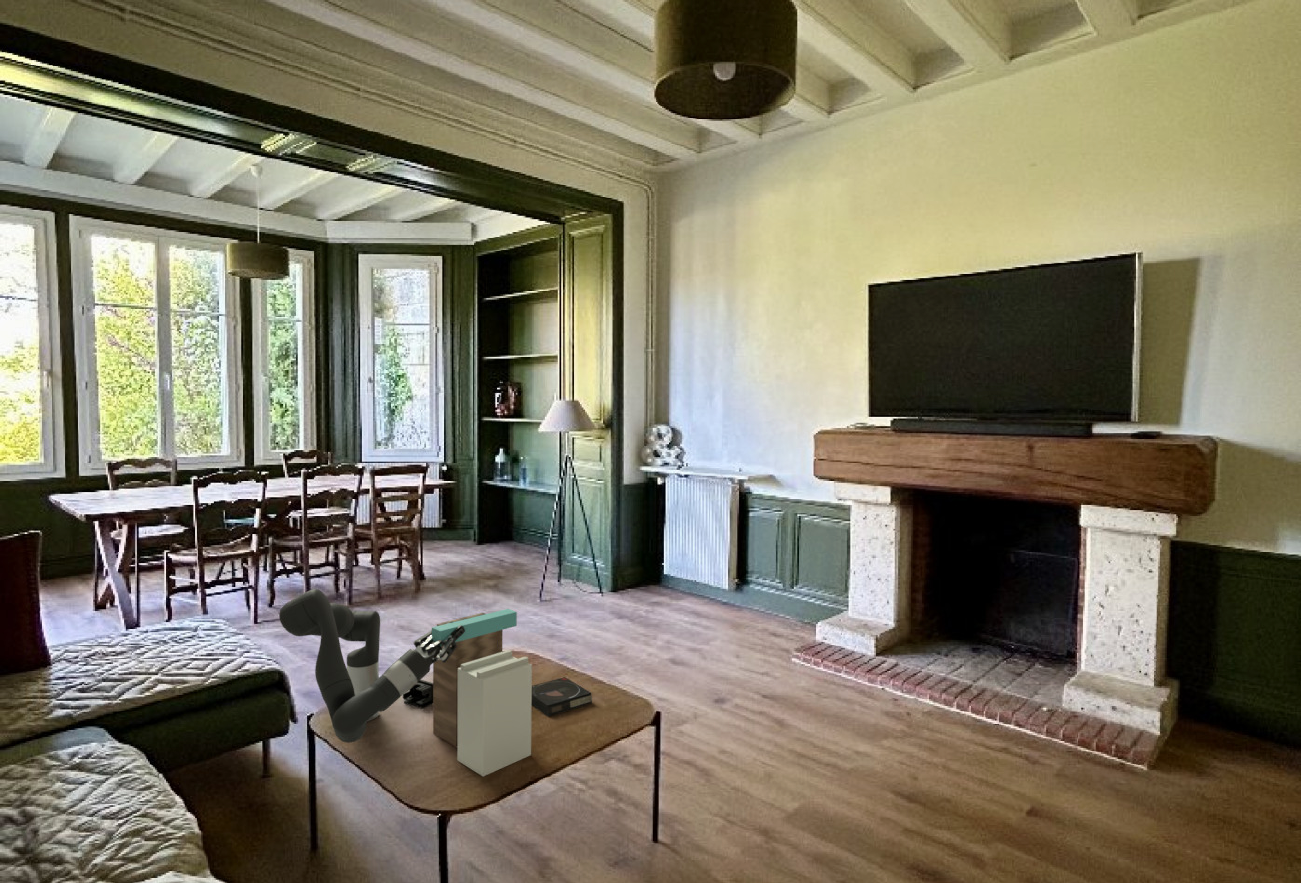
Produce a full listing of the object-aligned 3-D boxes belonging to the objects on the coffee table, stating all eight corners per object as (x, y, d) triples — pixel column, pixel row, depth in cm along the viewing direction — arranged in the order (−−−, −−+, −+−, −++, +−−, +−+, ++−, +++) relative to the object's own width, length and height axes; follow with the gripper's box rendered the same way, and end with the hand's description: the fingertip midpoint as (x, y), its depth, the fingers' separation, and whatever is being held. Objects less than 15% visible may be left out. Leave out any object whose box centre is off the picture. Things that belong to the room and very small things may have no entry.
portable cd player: (548, 718, 227) (548, 706, 227) (522, 700, 241) (522, 688, 240) (592, 705, 238) (592, 693, 237) (564, 688, 251) (564, 677, 251)
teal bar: (440, 646, 184) (440, 631, 184) (431, 642, 187) (431, 627, 186) (516, 625, 202) (516, 611, 201) (507, 622, 204) (508, 608, 204)
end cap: (440, 701, 237) (440, 681, 237) (424, 709, 231) (424, 688, 231) (418, 695, 242) (418, 675, 242) (401, 702, 236) (401, 682, 236)
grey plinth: (482, 776, 191) (483, 674, 190) (457, 760, 199) (457, 662, 198) (530, 755, 203) (531, 659, 201) (505, 740, 211) (505, 648, 209)
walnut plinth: (455, 746, 207) (456, 632, 205) (433, 733, 215) (433, 622, 213) (501, 728, 219) (502, 619, 217) (478, 716, 227) (479, 611, 225)
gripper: (413, 669, 173) (467, 621, 184) (384, 654, 183) (437, 609, 193) (427, 691, 176) (479, 642, 187) (398, 675, 186) (449, 629, 196)
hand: (457, 625), depth 190 cm, fingers closed on teal bar, 4 cm apart
